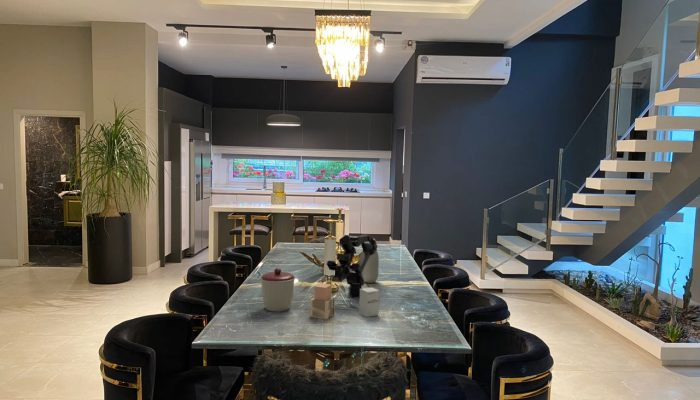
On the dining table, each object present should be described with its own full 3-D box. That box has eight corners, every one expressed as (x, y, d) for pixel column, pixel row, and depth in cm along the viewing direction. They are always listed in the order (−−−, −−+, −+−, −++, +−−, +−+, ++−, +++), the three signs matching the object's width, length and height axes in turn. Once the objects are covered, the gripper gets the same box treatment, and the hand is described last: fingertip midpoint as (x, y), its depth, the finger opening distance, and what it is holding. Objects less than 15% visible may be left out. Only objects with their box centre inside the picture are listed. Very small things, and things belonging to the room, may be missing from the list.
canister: (293, 302, 266) (293, 263, 264) (297, 313, 248) (297, 271, 247) (259, 304, 262) (259, 265, 260) (260, 315, 244) (260, 273, 243)
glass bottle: (371, 279, 318) (372, 236, 316) (381, 283, 310) (381, 238, 307) (358, 281, 313) (359, 237, 310) (368, 285, 304) (368, 239, 302)
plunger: (320, 311, 250) (320, 283, 248) (331, 312, 247) (331, 284, 246) (314, 314, 244) (314, 286, 243) (325, 316, 242) (325, 287, 240)
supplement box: (366, 317, 243) (366, 292, 242) (359, 313, 250) (359, 288, 249) (379, 315, 247) (379, 290, 246) (371, 311, 253) (372, 286, 252)
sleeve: (317, 312, 251) (317, 295, 250) (334, 314, 247) (334, 297, 246) (310, 316, 244) (310, 299, 243) (327, 319, 240) (327, 301, 239)
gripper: (328, 245, 268) (318, 270, 259) (360, 248, 261) (351, 273, 252) (334, 257, 276) (325, 281, 267) (365, 260, 269) (357, 285, 260)
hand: (339, 280), depth 261 cm, fingers closed
